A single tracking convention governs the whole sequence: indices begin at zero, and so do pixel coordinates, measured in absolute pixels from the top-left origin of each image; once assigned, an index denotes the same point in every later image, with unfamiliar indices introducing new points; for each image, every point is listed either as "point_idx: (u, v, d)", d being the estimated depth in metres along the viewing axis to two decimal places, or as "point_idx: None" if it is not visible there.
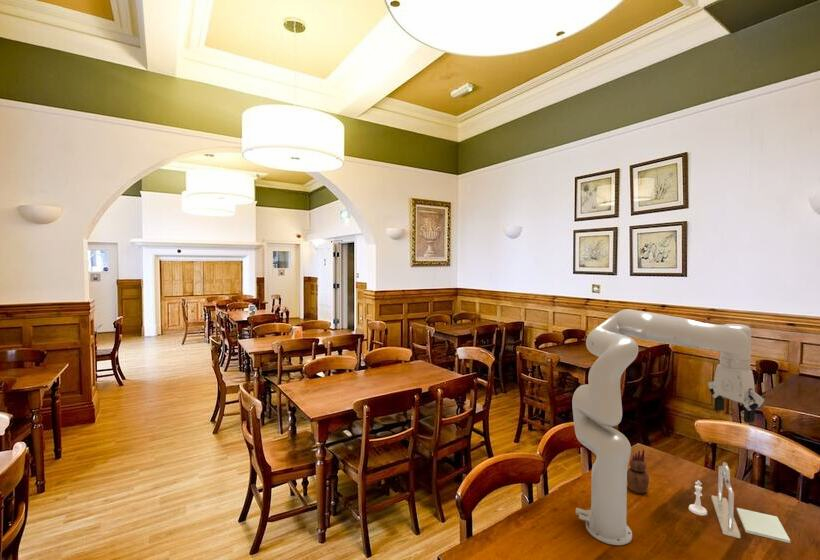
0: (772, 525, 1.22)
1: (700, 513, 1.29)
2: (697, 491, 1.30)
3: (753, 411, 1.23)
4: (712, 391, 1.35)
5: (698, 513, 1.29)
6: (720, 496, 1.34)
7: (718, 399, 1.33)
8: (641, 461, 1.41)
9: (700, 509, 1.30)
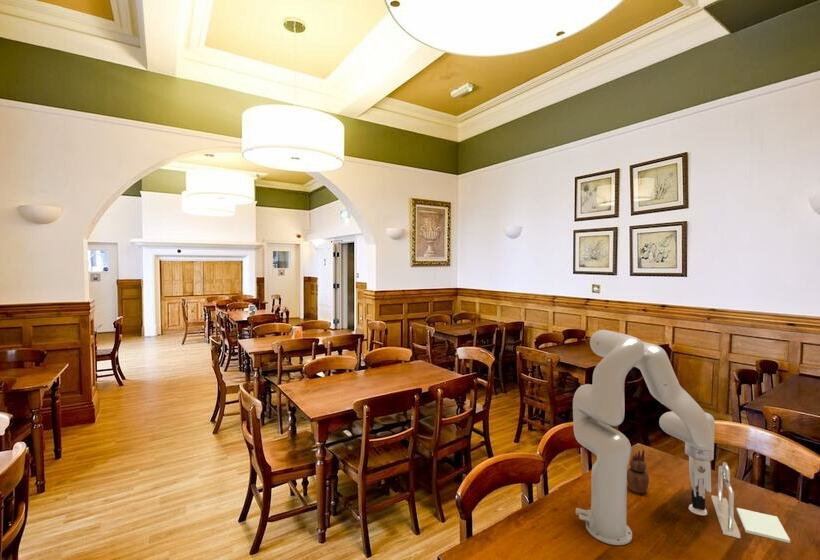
0: (772, 525, 1.22)
1: (700, 513, 1.29)
2: None
3: None
4: None
5: (698, 513, 1.29)
6: (720, 496, 1.34)
7: None
8: (641, 461, 1.41)
9: None
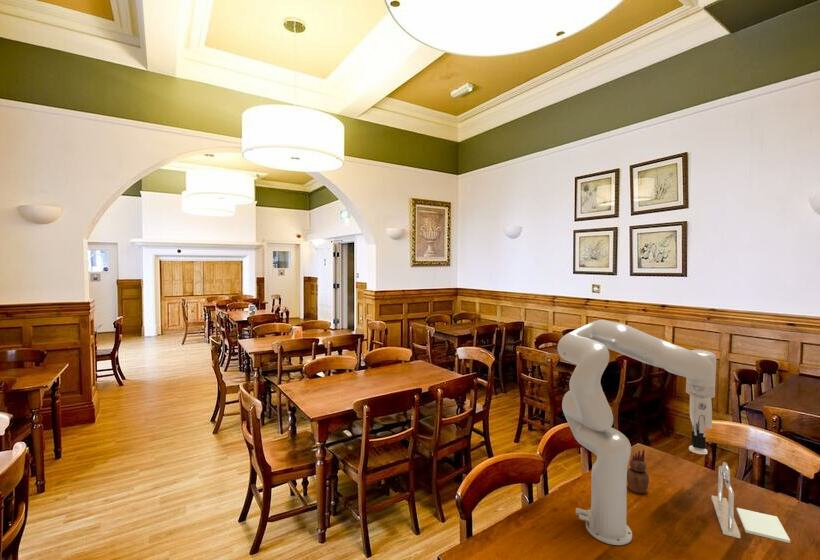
0: (772, 525, 1.22)
1: (700, 452, 1.28)
2: None
3: None
4: None
5: (698, 452, 1.28)
6: (720, 496, 1.34)
7: None
8: (641, 461, 1.41)
9: None
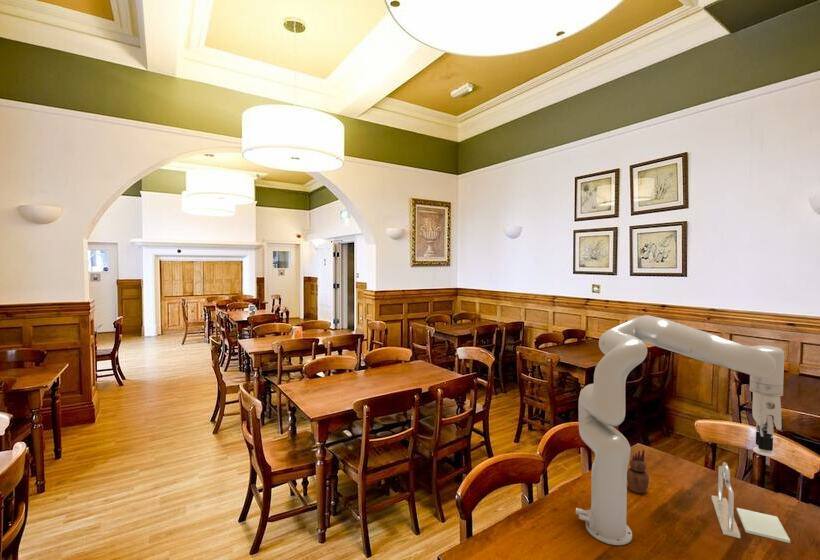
0: (772, 525, 1.22)
1: (767, 454, 1.20)
2: None
3: None
4: None
5: (765, 454, 1.20)
6: (720, 496, 1.34)
7: None
8: (641, 461, 1.41)
9: (767, 450, 1.21)
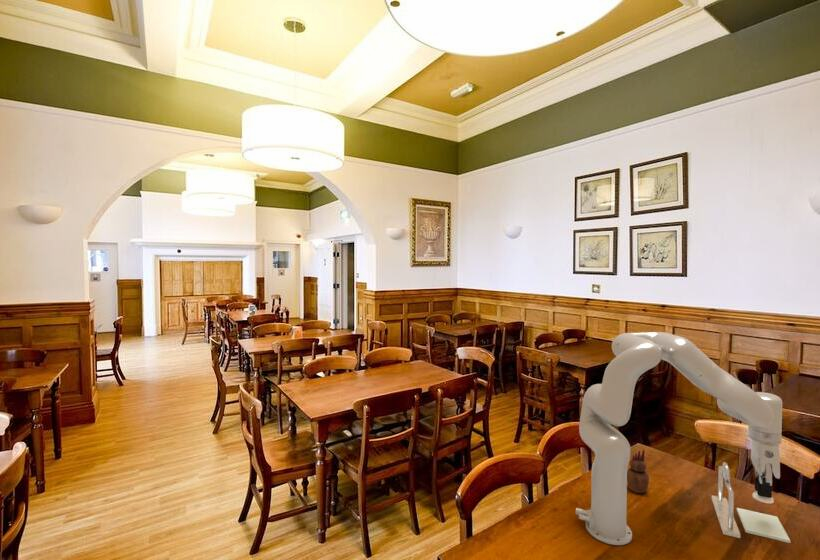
0: (772, 525, 1.22)
1: (766, 501, 1.21)
2: None
3: None
4: None
5: (764, 501, 1.21)
6: (720, 496, 1.34)
7: None
8: (641, 461, 1.41)
9: None
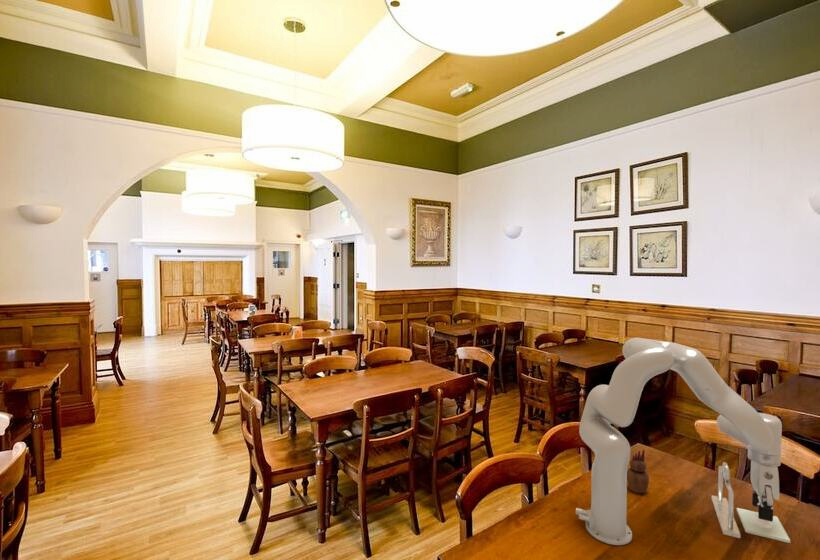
0: (772, 525, 1.22)
1: (765, 526, 1.21)
2: None
3: None
4: None
5: (763, 526, 1.21)
6: (720, 496, 1.34)
7: None
8: (641, 461, 1.41)
9: (764, 521, 1.22)
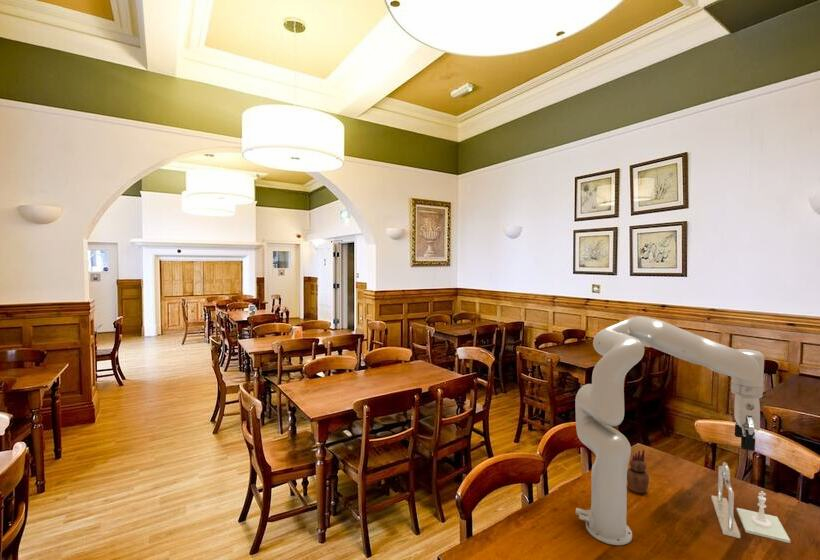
0: (772, 525, 1.22)
1: (765, 526, 1.21)
2: (761, 502, 1.23)
3: None
4: None
5: (763, 526, 1.21)
6: (720, 496, 1.34)
7: None
8: (641, 461, 1.41)
9: (764, 521, 1.22)
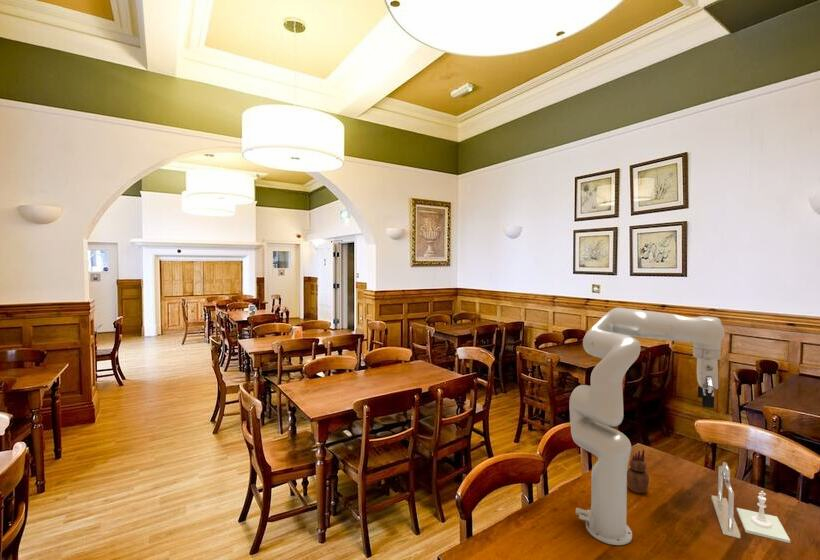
0: (772, 525, 1.22)
1: (765, 526, 1.21)
2: (761, 502, 1.23)
3: None
4: None
5: (763, 526, 1.21)
6: (720, 496, 1.34)
7: None
8: (641, 461, 1.41)
9: (764, 521, 1.22)
